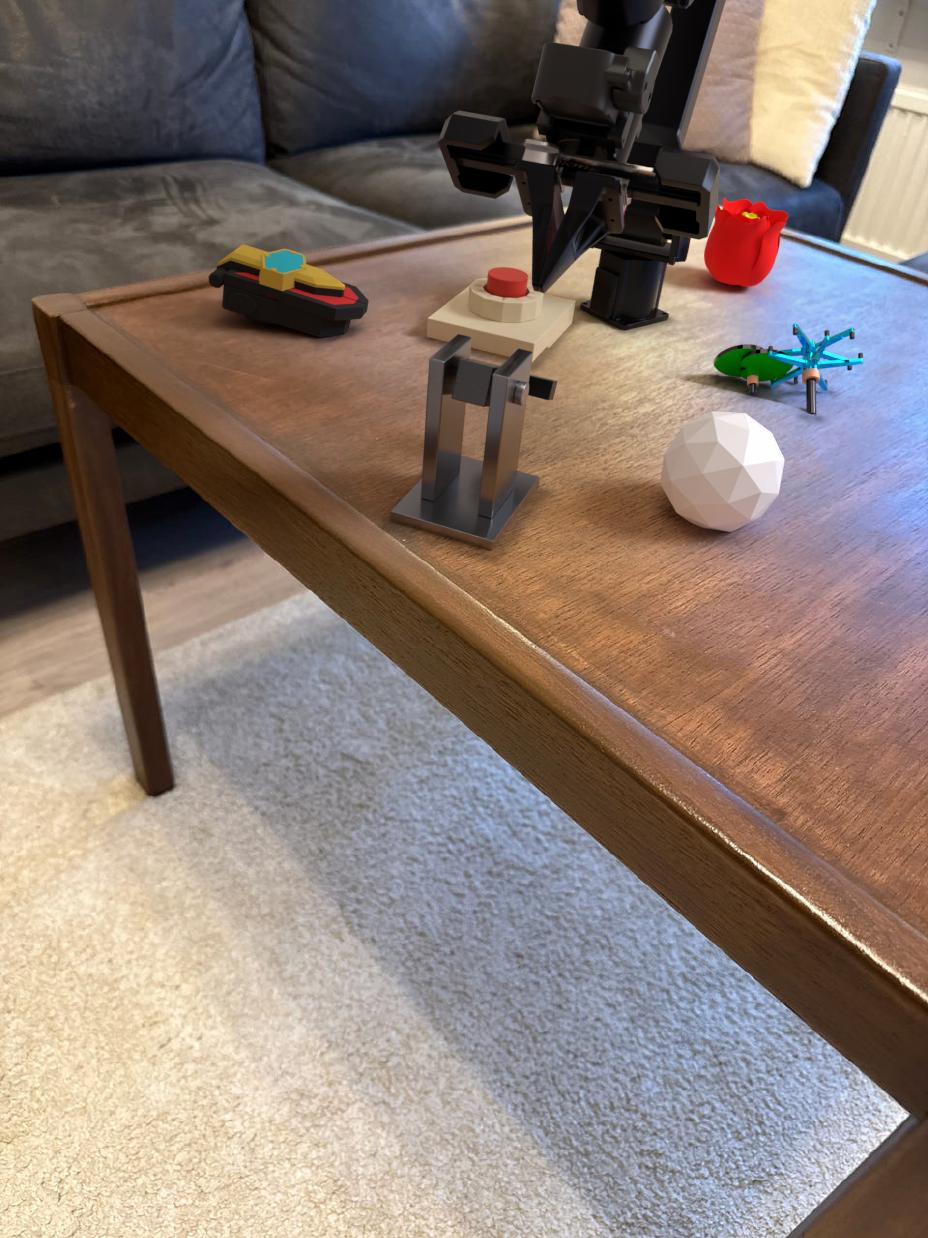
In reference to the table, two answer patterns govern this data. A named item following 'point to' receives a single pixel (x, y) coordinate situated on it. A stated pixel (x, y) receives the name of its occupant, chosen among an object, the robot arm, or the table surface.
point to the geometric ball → (722, 470)
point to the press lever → (478, 379)
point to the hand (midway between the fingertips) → (538, 288)
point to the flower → (743, 242)
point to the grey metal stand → (465, 487)
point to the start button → (507, 282)
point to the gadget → (286, 292)
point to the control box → (502, 320)
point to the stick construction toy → (786, 363)
